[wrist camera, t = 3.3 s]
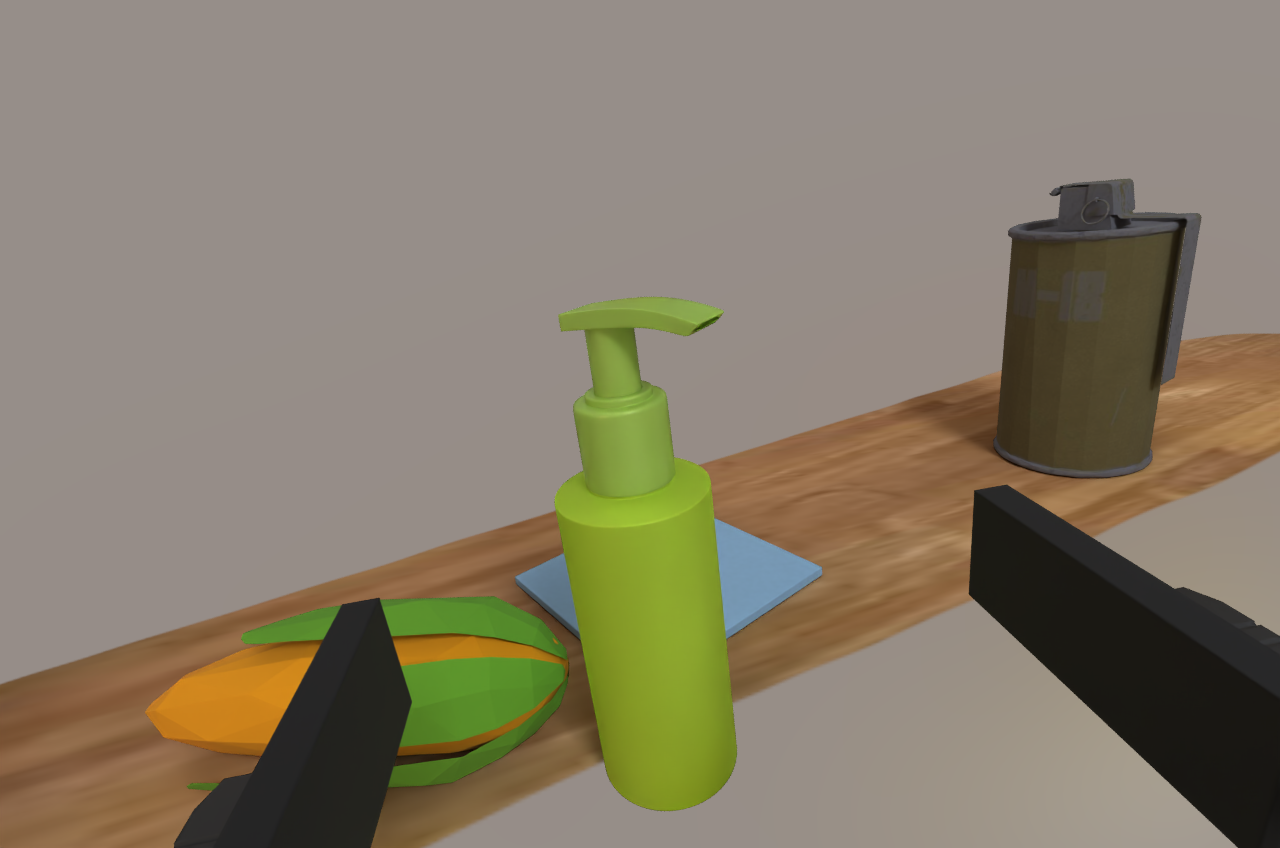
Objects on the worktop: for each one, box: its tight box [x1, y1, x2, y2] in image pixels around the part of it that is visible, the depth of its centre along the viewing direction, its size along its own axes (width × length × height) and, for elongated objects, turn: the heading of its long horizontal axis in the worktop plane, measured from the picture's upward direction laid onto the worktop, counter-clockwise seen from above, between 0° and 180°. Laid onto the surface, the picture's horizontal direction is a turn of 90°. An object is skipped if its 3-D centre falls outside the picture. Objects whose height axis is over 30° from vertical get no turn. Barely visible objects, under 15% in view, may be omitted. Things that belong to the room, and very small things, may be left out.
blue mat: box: [515, 518, 822, 640], centre depth 41 cm, size 14×14×1 cm
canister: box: [994, 179, 1201, 478], centre depth 47 cm, size 11×10×20 cm
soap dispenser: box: [555, 297, 737, 811], centre depth 25 cm, size 6×7×20 cm
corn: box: [145, 596, 569, 791], centre depth 29 cm, size 7×8×20 cm
